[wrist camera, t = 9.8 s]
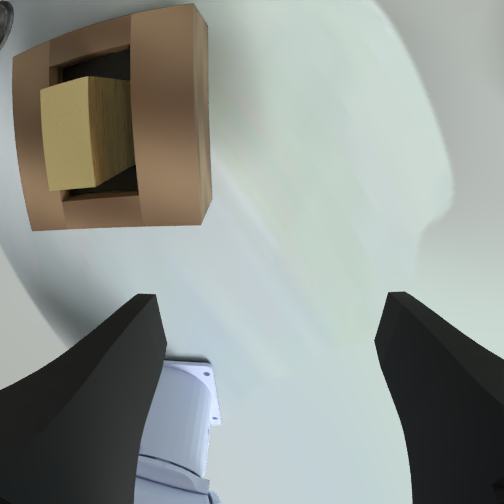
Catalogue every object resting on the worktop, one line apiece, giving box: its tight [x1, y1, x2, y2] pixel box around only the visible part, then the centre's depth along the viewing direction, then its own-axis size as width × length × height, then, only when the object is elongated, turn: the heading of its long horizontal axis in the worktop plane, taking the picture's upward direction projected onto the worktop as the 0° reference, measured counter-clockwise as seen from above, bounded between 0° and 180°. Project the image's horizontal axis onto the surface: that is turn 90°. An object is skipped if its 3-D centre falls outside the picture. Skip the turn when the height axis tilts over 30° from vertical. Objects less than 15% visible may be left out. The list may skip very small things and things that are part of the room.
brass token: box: [40, 76, 136, 191], centre depth 12 cm, size 4×2×6 cm, turn 179°
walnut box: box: [12, 3, 212, 231], centre depth 13 cm, size 10×10×4 cm
